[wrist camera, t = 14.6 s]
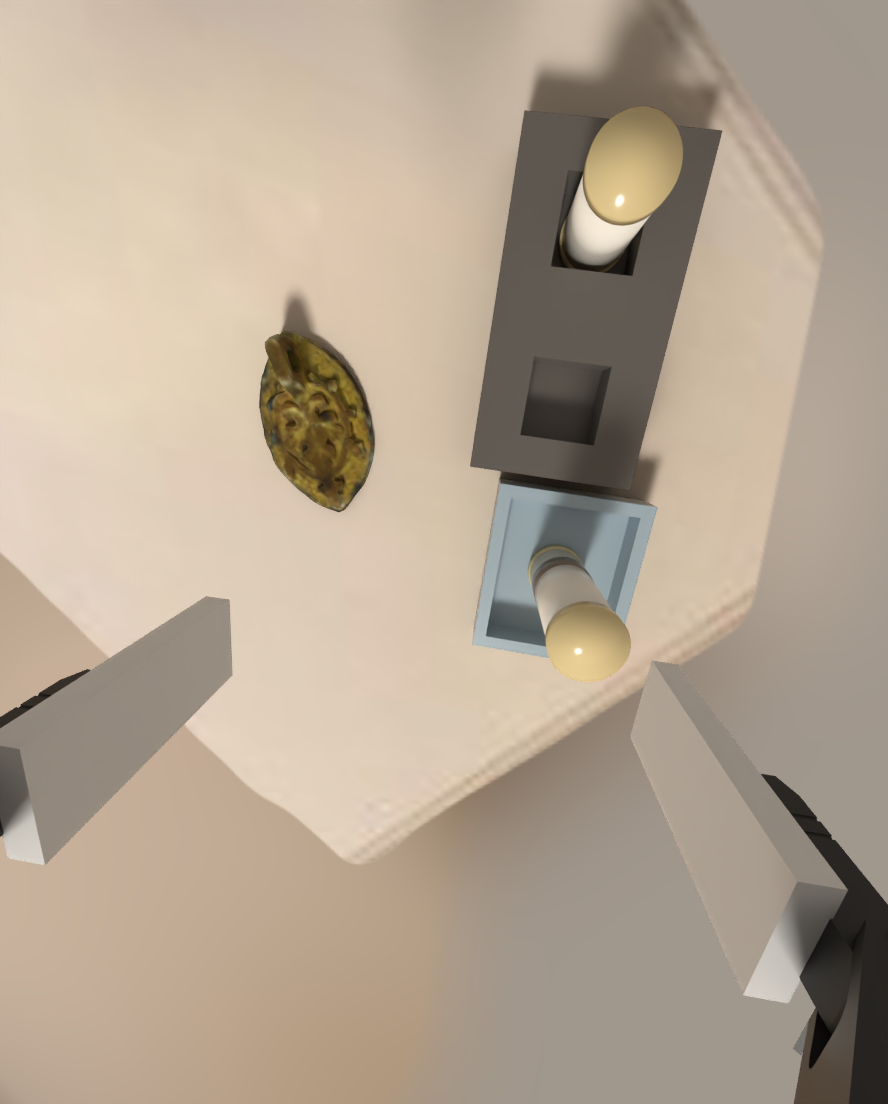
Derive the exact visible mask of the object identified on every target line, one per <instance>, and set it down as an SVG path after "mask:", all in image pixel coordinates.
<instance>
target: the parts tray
mask: <svg viewBox="0 0 888 1104" xmlns="http://www.w3.org/2000/svg"><path fill="white" fill-rule="evenodd" d="M656 511H657V507H656V506H654V505H652V504H649V503H647V502H645V501H643V500H638V499H631V498H625V497H618V496H611V495H605V494H598V493H591V492H585V491H578V490H572V489H565V488H558V487H552V486H545V485H539V484H532V483H525V482H519V481H512V480H506V479H499V485H498V491H497V496H496V502H495V508H494V514H493V520H492V525H491V531H490V537H489V543H488V548H487V554H486V560H485V566H484V572H483V577H482V583H481V589H480V595H479V600H478V606H477V612H476V618H475V624H474V631H473V643H472V645H477V646H483V647H489V648H494V649H500V650H506V651H512V652H517V653H523V654H529V655H534V656H540V657H546V658H549V656H548V652H547V648H546V644H545V634H544V630H543V626H542V622H541V618H540V614H539V611H538V607H537V604H536V601H535V598H534V594H533V590H532V586H531V584H530V581H529V577H528V565H529V562H530V560H531V558H532V557H533V555H534V554H535V553H536V552H537V551H538V550H540V549H542V548H544V547H546V546H549V545H562V546H565V547H568V548H570V549H571V550H573V551H574V552H575V553H576V554H577V556H578V557H579V558H580V560H581V562H582V564H583V566H584V567H585V568H586V570H587V571H588V573H589V574H590V576H591V577H592V579H593V581H594V583H595V585H596V586H597V588H598V589H599V591H600V592H601V594H602V595H603V596H604V598H605V599H606V601H607V602H608V604H609V605H610V607H611V608H612V610H613V611H614V612H615V613H616V614H617V615H618V616H619V617H620V619H621V620H622V622H623V623H624V624H625V622H626V619H627V615H628V612H629V608H630V604H631V601H632V597H633V594H634V590H635V586H636V583H637V579H638V576H639V572H640V568H641V565H642V561H643V558H644V554H645V550H646V547H647V543H648V540H649V536H650V532H651V529H652V525H653V522H654V518H655V514H656Z"/></svg>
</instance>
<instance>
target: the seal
mask: <svg viewBox="0 0 888 1104" xmlns="http://www.w3.org/2000/svg"><path fill="white" fill-rule="evenodd" d="M265 349H266V352H267V355H268V357H269V358H268V361H267V363H266V366H265V370H264V373H263V375H262V380H261V391H260V401H259V408H260V412H261V419H262V424H263V428H264V436H265V439H266V442H267V445H268V447H269V449H270V451H271V453H272V457H273V460H274V462H275V464H276V465H277V467H278V468H279V470H280V471H281V472H282V473H283V475H284V476H285V477H286V478H287V479H288V480H289V481H290V482H291V483H292V484H293V485H294V486H295V487H296V488H297V489H298V490H300V491H301V492H302V493H304V494H305V495H306V496H307V497H309V498H310V499H311V500H312V501H314V502H315V503H317V504H319V505H321V506H323V507H326V508H328V509H331V510H334V511H337V512H341V511H343V510H345V508H346V507H347V506H348V505H349V504H350V502H351V501H352V499H353V498H354V496H355V495H356V494H357V493H358V491H359V490H360V489H361V488H362V486H363V485H364V484H365V481H366V479H367V477H368V474H369V471H370V468H371V464H372V460H373V454H374V440H373V433H372V427H371V421H370V416H369V412H368V410H367V407H366V404H365V401H364V398H363V396H362V394H361V392H360V390H359V388H358V386H357V384H356V382H355V381H354V379H353V378H352V376H351V375H350V373H349V372H348V370H347V369H346V367H345V366H344V365H343V364H342V363H341V362H340V361H339V360H338V359H337V358H336V357H335V356H334V355H333V354H332V353H330V352H329V351H327V350H326V349H325V348H324V347H322V346H320V345H319V344H317V343H315V342H314V341H312V340H310V339H307V338H305V337H303V336H300V335H298V334H295V333H293V332H289V331H284V332H282V333H281V334H280V335H279V334H276V335H274V336H272V337H270V338H269V339H268V340H267V341H266V342H265Z"/></svg>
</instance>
